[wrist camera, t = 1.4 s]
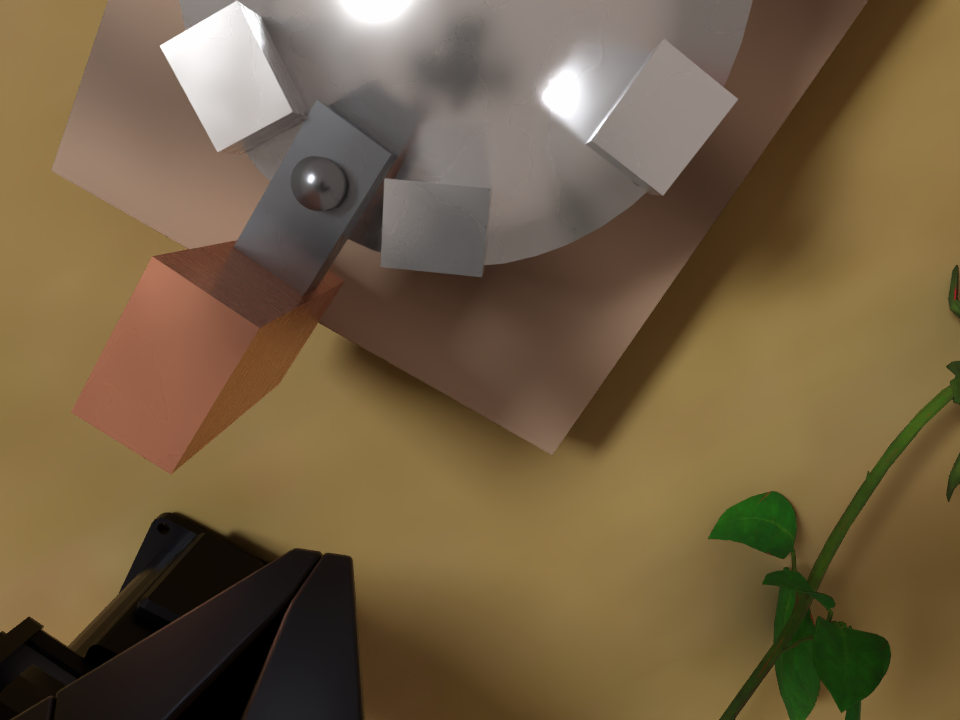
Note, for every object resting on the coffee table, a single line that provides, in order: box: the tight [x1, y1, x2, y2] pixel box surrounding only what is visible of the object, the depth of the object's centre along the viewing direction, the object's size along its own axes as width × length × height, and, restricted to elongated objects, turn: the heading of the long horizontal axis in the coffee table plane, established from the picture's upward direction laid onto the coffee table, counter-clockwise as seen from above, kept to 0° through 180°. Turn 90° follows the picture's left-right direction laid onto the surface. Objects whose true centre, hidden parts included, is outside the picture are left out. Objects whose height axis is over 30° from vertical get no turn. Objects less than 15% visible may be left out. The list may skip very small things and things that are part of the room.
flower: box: [708, 265, 960, 720], centre depth 18 cm, size 9×10×30 cm
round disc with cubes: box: [71, 0, 753, 474], centre depth 13 cm, size 18×13×7 cm
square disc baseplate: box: [51, 0, 868, 455], centre depth 17 cm, size 20×18×2 cm
